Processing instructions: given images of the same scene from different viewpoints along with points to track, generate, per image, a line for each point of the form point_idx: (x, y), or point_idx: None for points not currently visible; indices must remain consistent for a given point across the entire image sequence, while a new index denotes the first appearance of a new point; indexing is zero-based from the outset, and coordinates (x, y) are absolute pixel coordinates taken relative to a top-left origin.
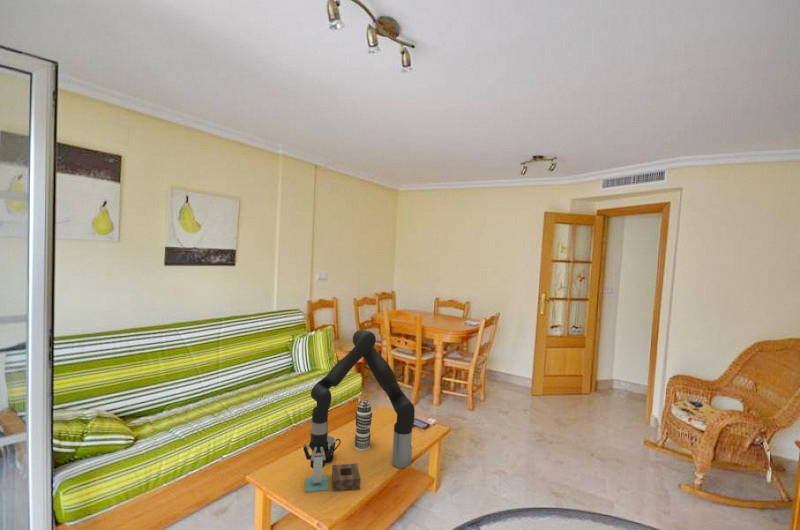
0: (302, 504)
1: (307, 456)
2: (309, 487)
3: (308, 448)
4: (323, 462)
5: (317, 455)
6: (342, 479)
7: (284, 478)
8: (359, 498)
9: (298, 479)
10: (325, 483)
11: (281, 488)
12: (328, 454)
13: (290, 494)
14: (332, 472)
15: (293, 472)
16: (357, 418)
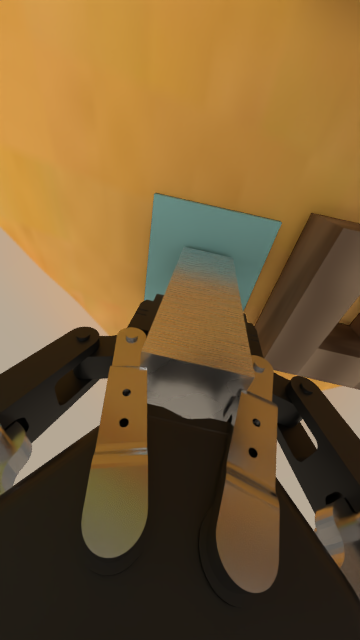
0: None
1: (72, 389)
2: (163, 287)
3: (16, 474)
4: None
5: (174, 404)
6: (306, 374)
7: (31, 144)
8: (322, 387)
9: (114, 186)
10: (241, 285)
11: (43, 238)
12: (285, 447)
13: (90, 290)
14: (306, 261)
15: (73, 72)
16: None
